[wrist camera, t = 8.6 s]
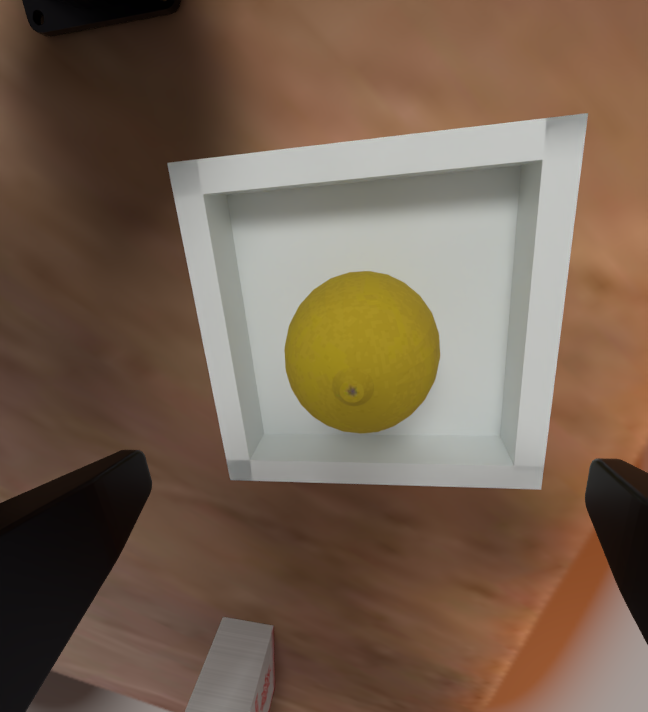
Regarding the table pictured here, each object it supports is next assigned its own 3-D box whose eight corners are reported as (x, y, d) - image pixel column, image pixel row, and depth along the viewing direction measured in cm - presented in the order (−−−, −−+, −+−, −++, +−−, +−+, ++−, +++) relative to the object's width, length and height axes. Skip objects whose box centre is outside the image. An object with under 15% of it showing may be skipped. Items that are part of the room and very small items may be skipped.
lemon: (448, 351, 18) (486, 443, 11) (339, 393, 20) (308, 498, 12) (400, 238, 17) (407, 254, 10) (288, 292, 19) (220, 342, 11)
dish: (249, 446, 23) (230, 480, 20) (201, 168, 18) (167, 162, 15) (520, 450, 20) (541, 489, 18) (552, 129, 15) (587, 113, 13)
